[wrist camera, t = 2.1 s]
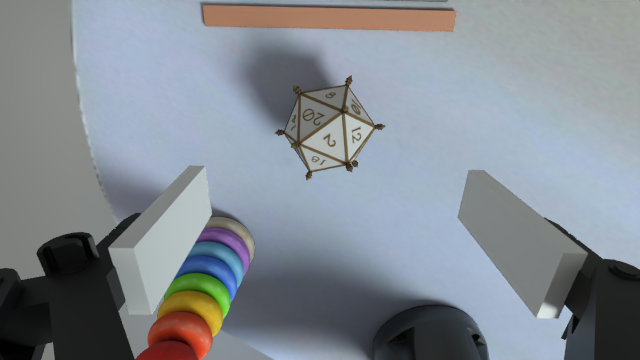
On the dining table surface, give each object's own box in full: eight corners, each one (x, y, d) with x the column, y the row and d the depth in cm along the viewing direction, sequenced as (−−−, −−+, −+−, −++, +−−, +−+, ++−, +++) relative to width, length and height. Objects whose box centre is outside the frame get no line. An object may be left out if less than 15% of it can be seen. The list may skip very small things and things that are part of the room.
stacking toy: (175, 243, 37) (55, 415, 20) (215, 200, 35) (119, 353, 18) (228, 279, 40) (161, 461, 22) (269, 241, 37) (229, 411, 20)
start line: (451, 31, 28) (453, 31, 28) (206, 25, 28) (205, 25, 28) (455, 11, 28) (456, 10, 27) (203, 5, 27) (202, 5, 27)
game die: (310, 120, 35) (241, 149, 28) (342, 51, 30) (266, 65, 22) (370, 173, 33) (311, 218, 26) (417, 109, 27) (358, 145, 20)
